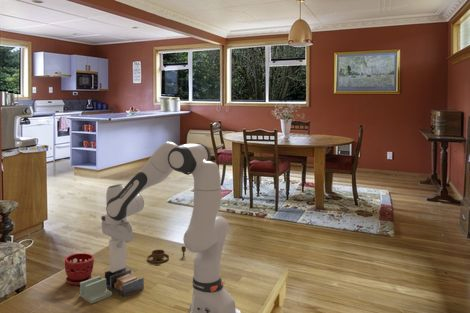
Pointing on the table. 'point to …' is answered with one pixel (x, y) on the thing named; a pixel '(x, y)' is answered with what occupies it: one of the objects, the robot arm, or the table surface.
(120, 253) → the tall sheet
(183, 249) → the place setting
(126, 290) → the offcut rack
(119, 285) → the offcut lower
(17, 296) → the table surface
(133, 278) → the offcut upper
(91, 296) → the sheet stand
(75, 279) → the plant pot
